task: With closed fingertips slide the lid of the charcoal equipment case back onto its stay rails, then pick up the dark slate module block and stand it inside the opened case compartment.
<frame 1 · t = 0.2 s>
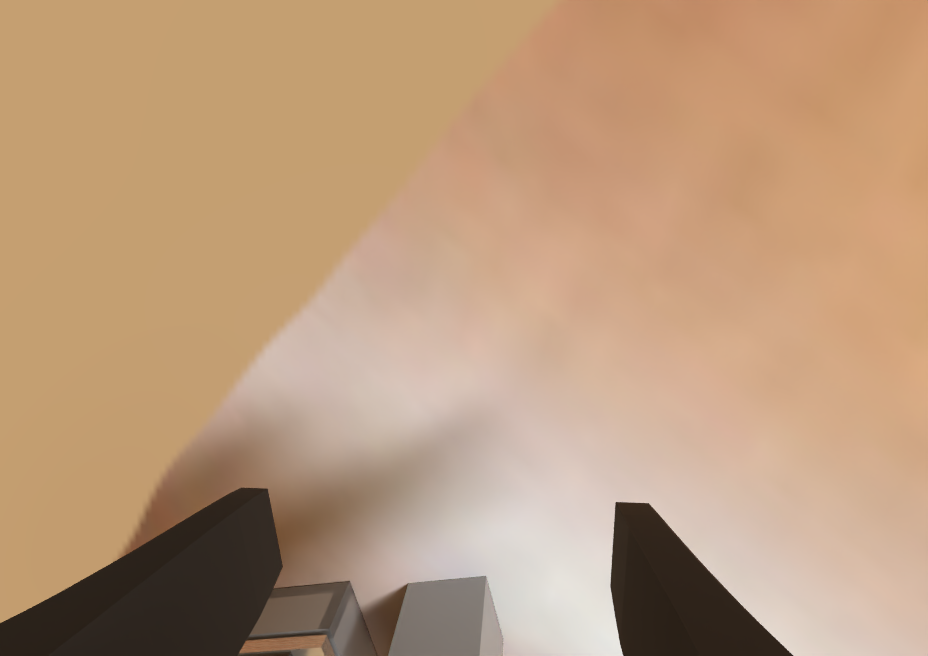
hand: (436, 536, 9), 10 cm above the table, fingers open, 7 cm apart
module: (456, 610, 23), on the table
case: (292, 639, 25), on the table
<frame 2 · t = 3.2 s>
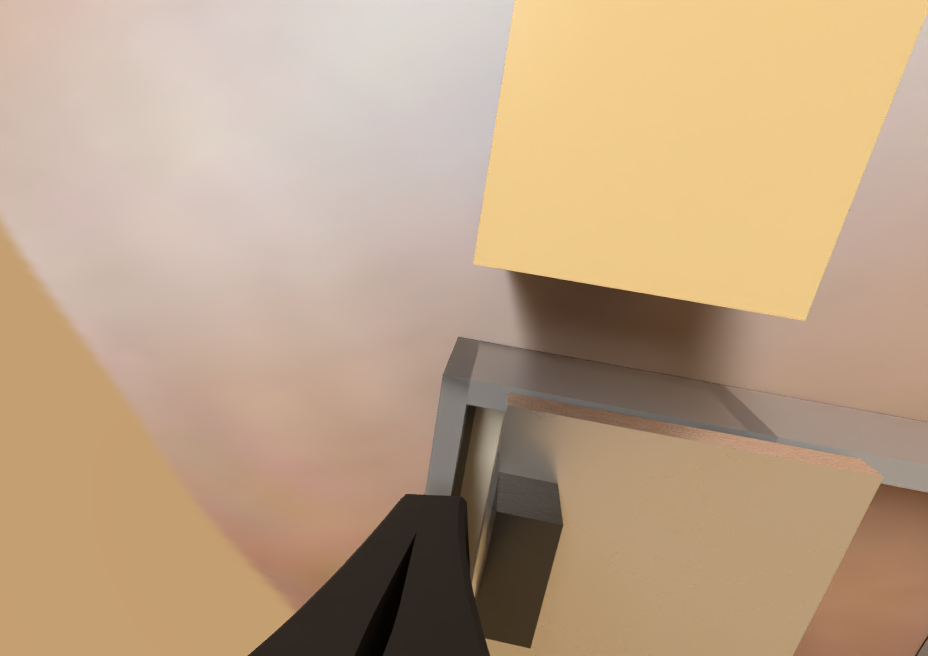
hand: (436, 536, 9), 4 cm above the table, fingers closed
lid: (632, 631, 10), point 4 cm above the table, slide at 1.4 cm, touching gripper
module: (595, 154, 11), on the table
case: (552, 501, 13), on the table
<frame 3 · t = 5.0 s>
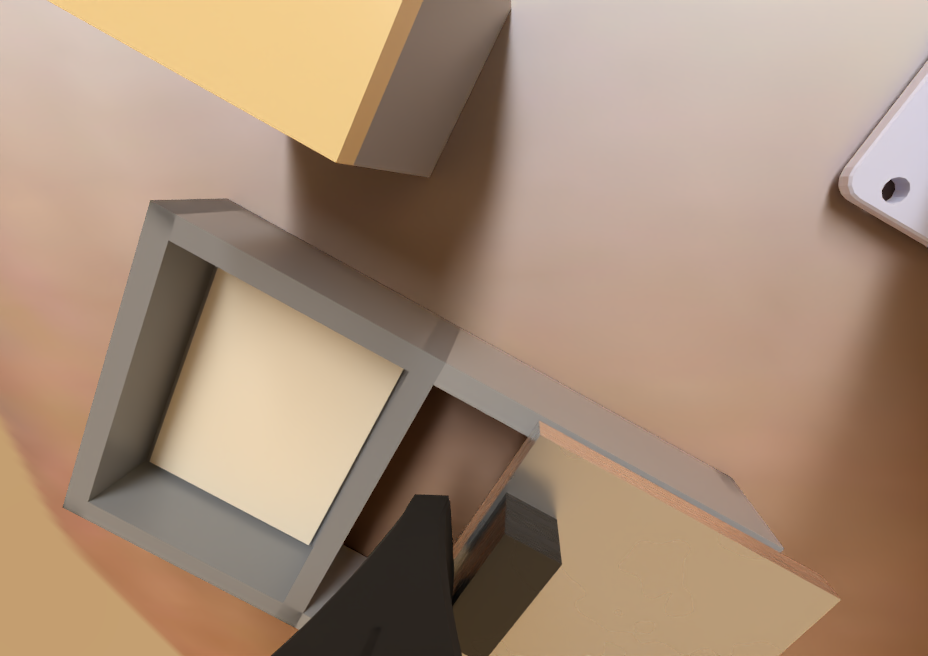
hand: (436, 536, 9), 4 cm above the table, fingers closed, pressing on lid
module: (392, 54, 11), on the table
case: (285, 396, 13), on the table
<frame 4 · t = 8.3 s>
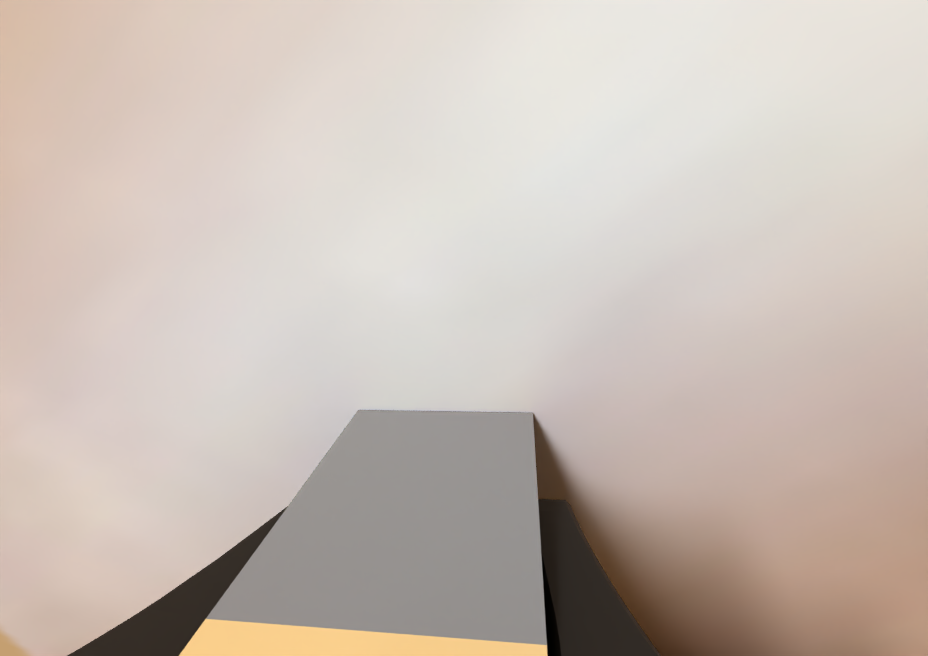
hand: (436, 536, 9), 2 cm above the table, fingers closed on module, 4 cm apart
module: (448, 487, 11), on the table, touching gripper
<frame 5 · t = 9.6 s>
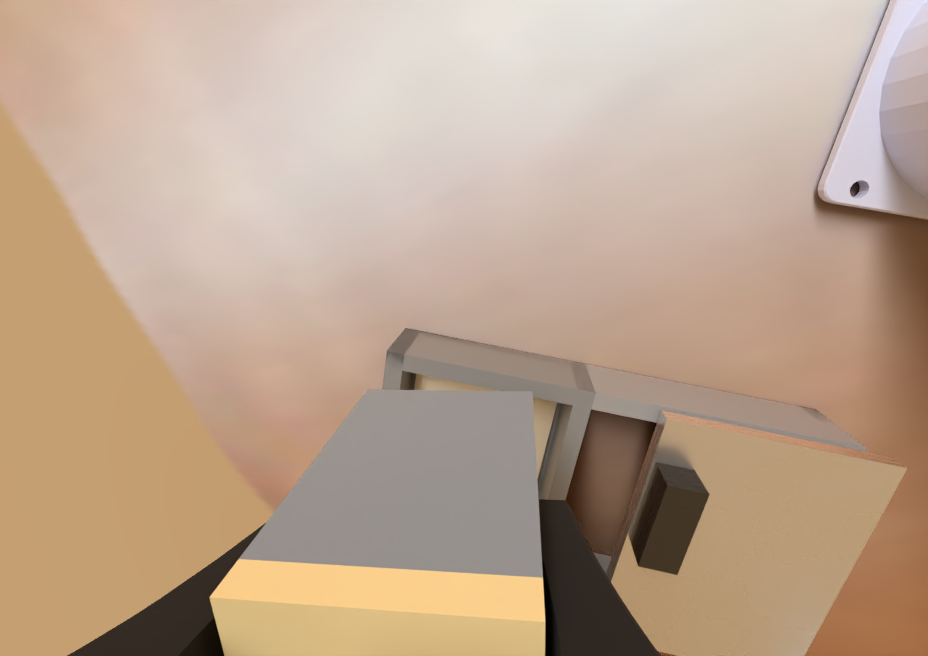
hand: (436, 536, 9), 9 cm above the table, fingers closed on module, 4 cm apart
lid: (737, 568, 15), point 4 cm above the table, slide at 9.0 cm
module: (452, 462, 12), point 7 cm above the table, touching gripper
case: (474, 446, 19), on the table
when the fingers open (4 cm above the table, at t = 11.2 s): module stays where it is, resting on case.
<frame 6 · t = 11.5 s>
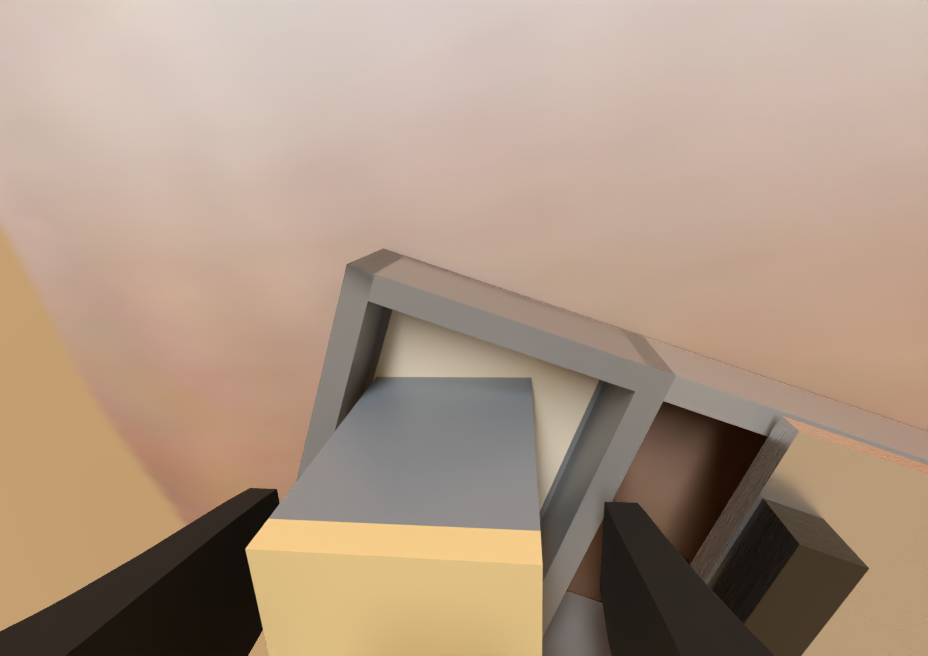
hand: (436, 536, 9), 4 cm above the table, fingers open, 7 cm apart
module: (456, 446, 12), point 1 cm above the table, touching case
case: (460, 437, 13), on the table
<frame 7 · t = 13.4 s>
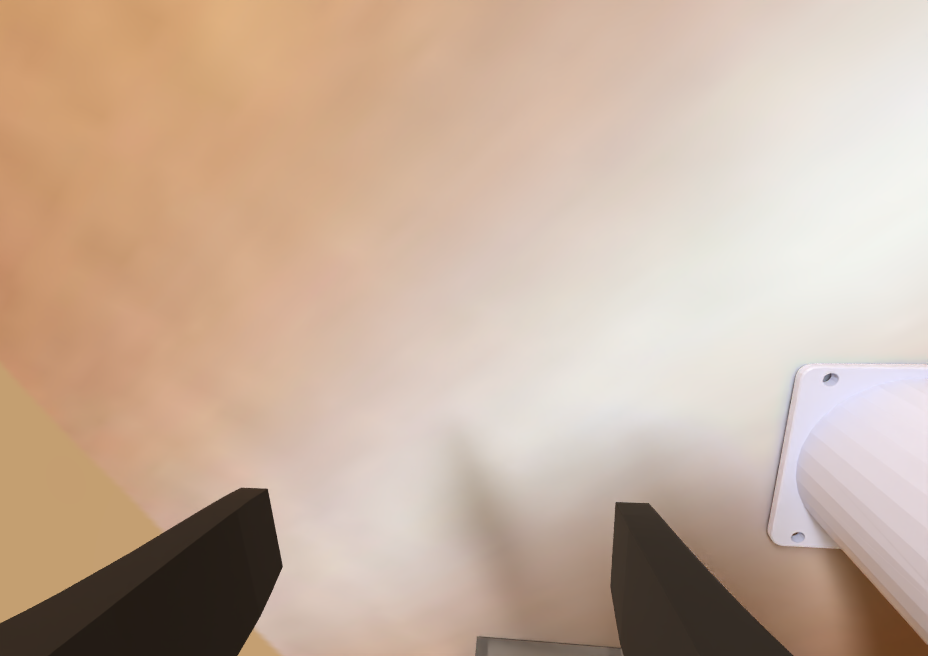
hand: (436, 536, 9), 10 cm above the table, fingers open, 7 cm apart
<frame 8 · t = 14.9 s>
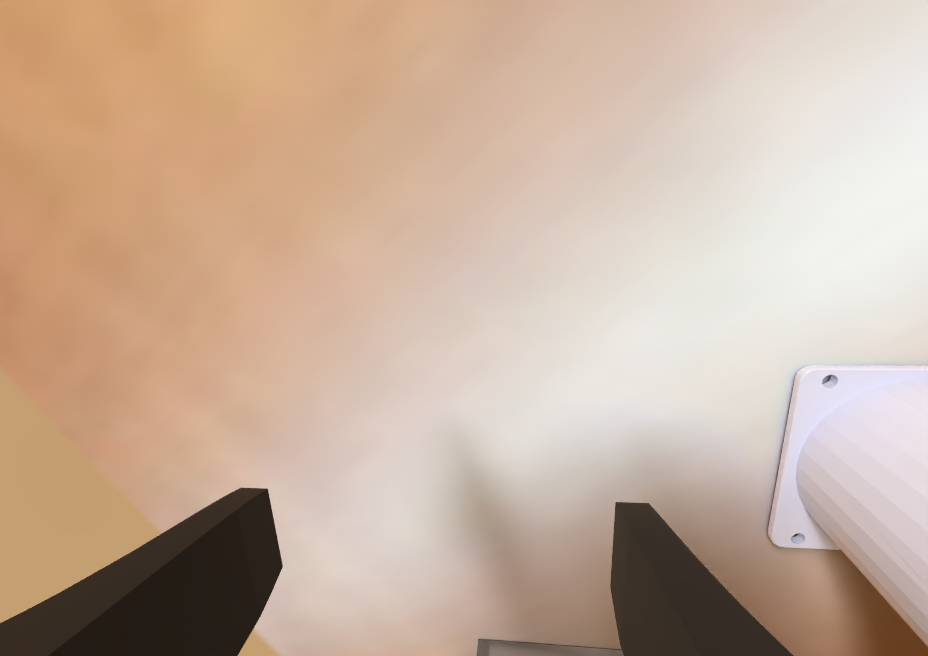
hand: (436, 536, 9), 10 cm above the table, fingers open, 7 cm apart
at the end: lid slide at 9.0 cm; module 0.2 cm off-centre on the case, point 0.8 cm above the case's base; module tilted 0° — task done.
